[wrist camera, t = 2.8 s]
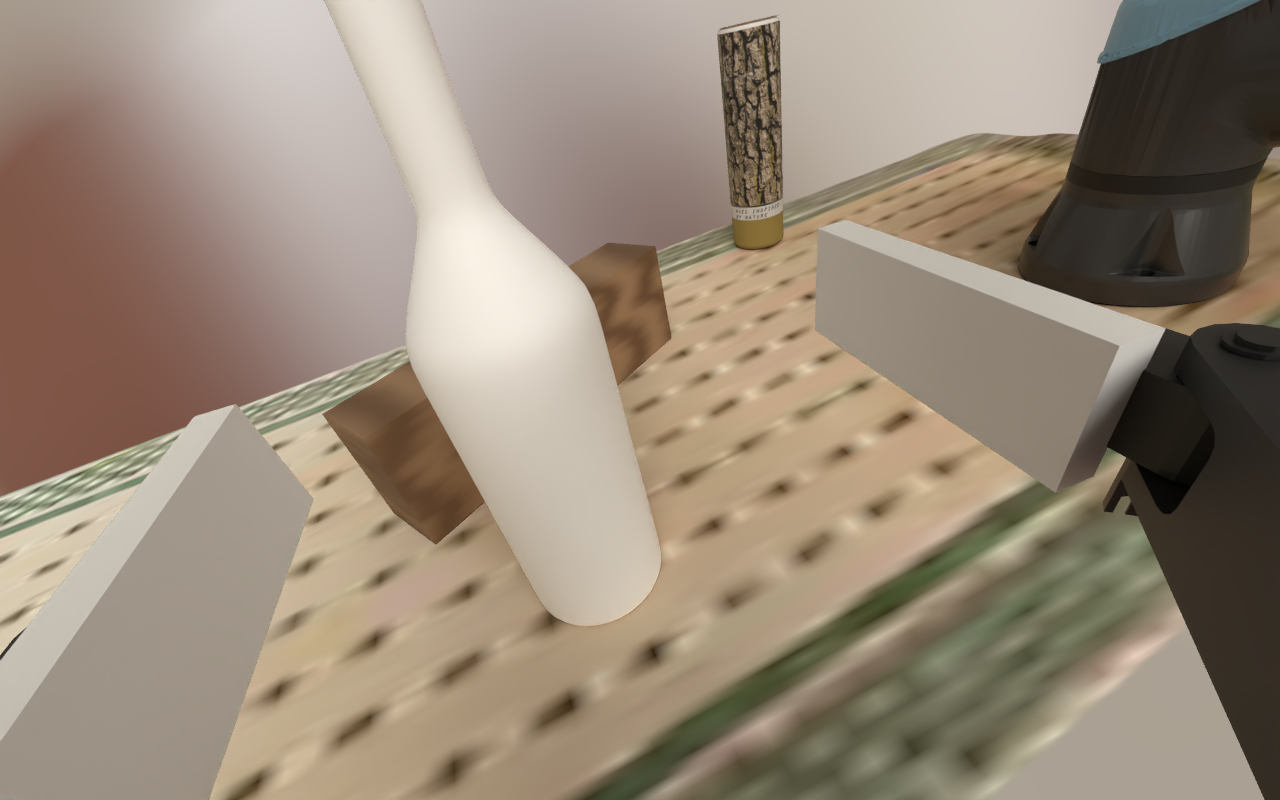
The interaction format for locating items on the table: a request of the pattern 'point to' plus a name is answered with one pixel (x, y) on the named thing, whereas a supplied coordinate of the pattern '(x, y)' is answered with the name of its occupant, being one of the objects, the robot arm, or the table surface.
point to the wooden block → (413, 434)
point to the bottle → (506, 342)
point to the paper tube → (753, 129)
